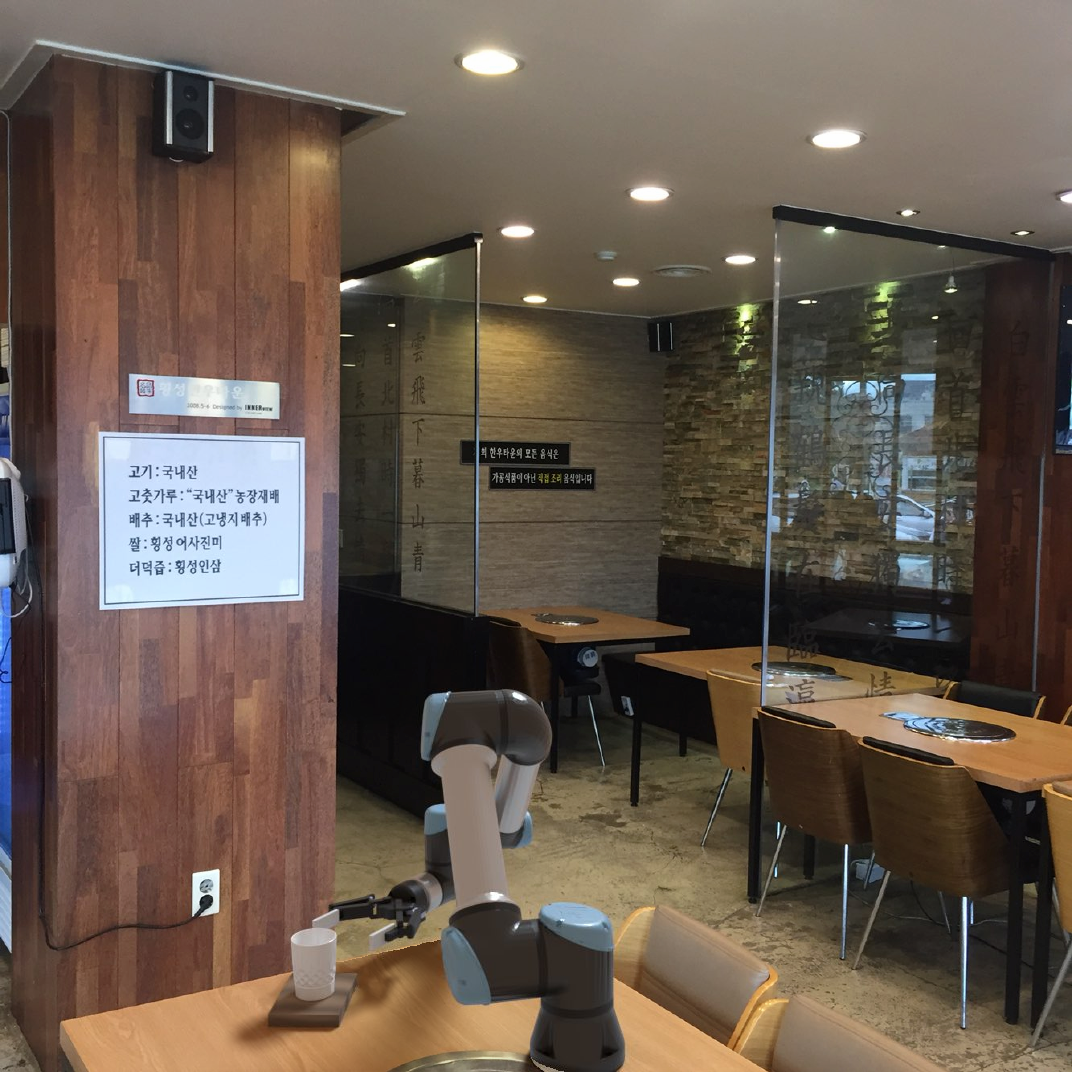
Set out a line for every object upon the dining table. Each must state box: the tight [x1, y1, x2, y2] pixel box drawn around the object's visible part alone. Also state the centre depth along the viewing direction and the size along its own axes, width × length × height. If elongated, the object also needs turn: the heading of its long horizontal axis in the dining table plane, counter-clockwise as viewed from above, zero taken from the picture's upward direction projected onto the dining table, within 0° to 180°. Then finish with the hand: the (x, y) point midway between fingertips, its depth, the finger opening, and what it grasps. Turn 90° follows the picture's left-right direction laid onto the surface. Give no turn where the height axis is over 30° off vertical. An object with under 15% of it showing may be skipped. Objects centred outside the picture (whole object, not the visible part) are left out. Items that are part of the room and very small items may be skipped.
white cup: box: [290, 927, 338, 1001], centre depth 192 cm, size 8×8×10 cm
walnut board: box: [267, 972, 359, 1028], centre depth 192 cm, size 16×12×2 cm
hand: (341, 935), depth 198 cm, fingers open, 13 cm apart
